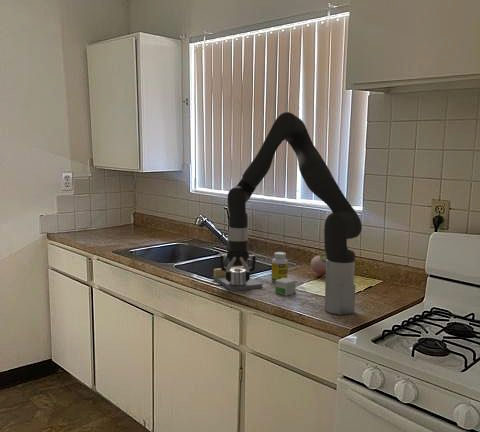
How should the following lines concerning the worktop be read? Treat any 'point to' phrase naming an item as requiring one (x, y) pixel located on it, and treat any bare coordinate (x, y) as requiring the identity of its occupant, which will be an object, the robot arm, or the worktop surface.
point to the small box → (285, 286)
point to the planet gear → (237, 277)
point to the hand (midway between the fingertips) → (237, 281)
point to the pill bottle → (279, 266)
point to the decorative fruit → (319, 264)
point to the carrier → (221, 278)
